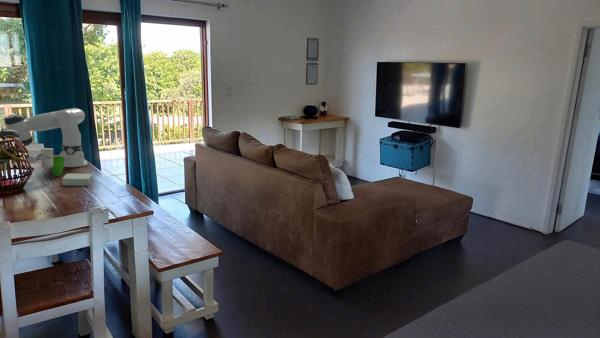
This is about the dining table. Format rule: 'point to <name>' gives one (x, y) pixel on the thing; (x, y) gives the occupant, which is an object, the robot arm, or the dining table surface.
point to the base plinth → (77, 179)
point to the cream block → (50, 160)
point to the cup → (58, 165)
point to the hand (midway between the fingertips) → (49, 156)
